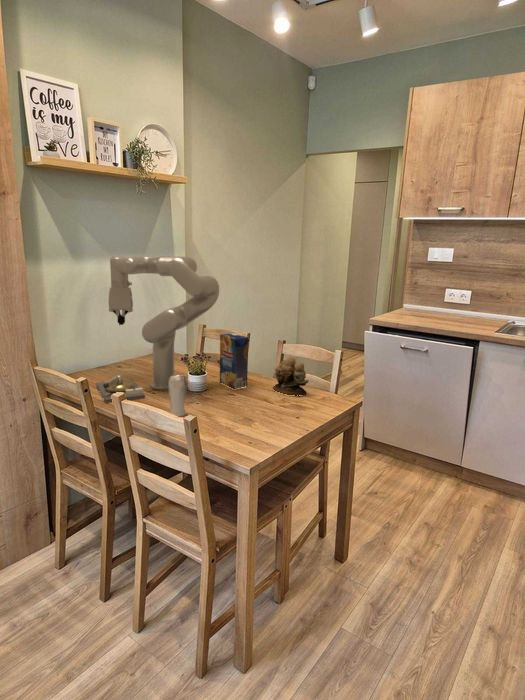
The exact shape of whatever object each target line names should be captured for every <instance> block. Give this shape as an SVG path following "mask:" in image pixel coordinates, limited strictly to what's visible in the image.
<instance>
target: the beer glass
mask: <svg viewBox="0 0 525 700" xmlns="http://www.w3.org/2000/svg"><path fill="white" fill-rule="evenodd" d="M187 387H188V385H187V377H186V375H181V374H174V375H173V376H170V377H169V380H168V390H167V392H168V398H169V404H170V412H169V414H170V413H172V414H174V415H176V416H181V417H180V418H183V417H184V416H185V415H186V409H185V408H186V407H185V406H186V405H185V404H186V396H187Z"/></svg>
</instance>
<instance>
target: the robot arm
mask: <svg viewBox="0 0 525 700" xmlns="http://www.w3.org/2000/svg"><path fill="white" fill-rule="evenodd" d="M109 265H110V287H109V291H108V311H109V313H114V315H116V318H117V323H118V325H119V326H123V325H124V324H126V315H127V314H129V313H132V312H133V311H134V309H133V308H134V302H133V294H132V287H130V286H132V282H131V281H130V280H129V275H138V274H139V275H140V274H141V275H142V274H155V275H156V274H158V275H159V276H161V277H172V278H173V279H174V280H175V281H176V283H178V285H180V286H181V288H182V289H183V290H185V291H186V293H187V294H188V295H190V296H191V298H189V299H188V300H186V301H185V302H184V303H182V304H179V305H178V306H174V307H170V308H167V309H165V310H163V311H161V312H160V313H159V314H157V315H155V317H153V318H152V319H150V320H148V321H147V322H146V323H144V325H143V327H142V330H141V336H142V338H143V339H144V341H146V342H147V343H151V344H153V345H152V376H153V377H152V378H153V379H152V380H153V381H151V382H150V383H149V387H150V388H151V389H154V390H159V391H160V390H161V391H164V390H165V391H168V380H169V377H170V376H173V375H175V340H176V331H178V330H181V329H183V328H185V327H187V326H188V325H189V324H190V323H192V322H194V321H195V320H196V319H198V318H200V317H201V316H202V315H203V314H205V313H206V312H208V311H209V310H210V309H211V308H213V307H214V305H215V304H216V303H217V300H218V298H219V295H220V286H219V285H220V284H219V281H218V280H217V279H216V278H215V277H213V276H211V275H201V276H199V274H197V273H196V272H197V269H198V265H197V262H196V261H195V259H194V258H192V257H190V256H165V255H163V256H126V257H125V256H112V257H110V260H109Z"/></svg>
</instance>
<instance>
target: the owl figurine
mask: <svg viewBox="0 0 525 700" xmlns="http://www.w3.org/2000/svg"><path fill="white" fill-rule="evenodd" d="M274 370H275V372H274V374H275V378H276V380H277V382H278V383H276V384H275V385H273V386H272V390H273V389H274V390H275V391H277V392H280V393H283V394H287V395H295V396H297V395H298V396H299V395H303V396H305V395H304V394H306V395H307V391H306V390H305V388H303V387H304V386H306V384H308V383H309V382H310V381H309V379H306V378H307V374H306V372H305V365H304V363H303V362H301V361H297V362H296V359H295V357H294V356H289V357H287V358H285V359H284V360H282V361H281V362H280V363H279V364H278V365H277V366H276V367H275V369H274ZM275 391H274V392H275ZM299 397H300V396H299Z"/></svg>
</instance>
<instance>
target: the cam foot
mask: <svg viewBox="0 0 525 700" xmlns="http://www.w3.org/2000/svg"><path fill="white" fill-rule="evenodd" d="M103 382H104V384H103V387H104V388H105V390H106V391H108V392H114V393H116V392H125V390H127V389H133V388H134V383H133V382H132V381H130V380H129V379H124V376H123V374H116V375H115V376H114V377H112V378H110V379H108V380H106V381H103Z"/></svg>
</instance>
